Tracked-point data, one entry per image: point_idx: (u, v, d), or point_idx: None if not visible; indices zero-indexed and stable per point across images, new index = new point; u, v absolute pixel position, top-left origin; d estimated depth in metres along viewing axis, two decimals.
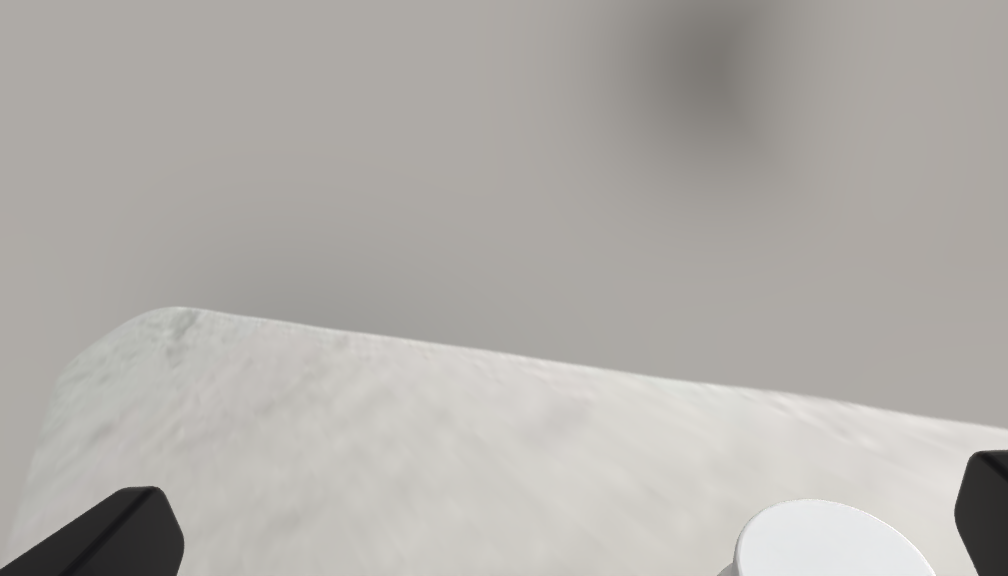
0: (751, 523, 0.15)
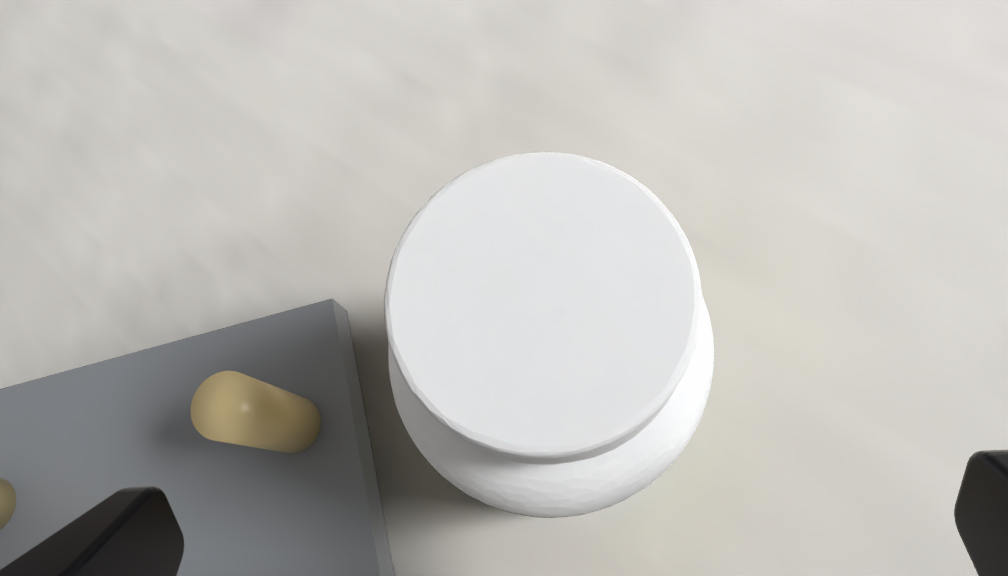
0: (413, 224, 0.09)
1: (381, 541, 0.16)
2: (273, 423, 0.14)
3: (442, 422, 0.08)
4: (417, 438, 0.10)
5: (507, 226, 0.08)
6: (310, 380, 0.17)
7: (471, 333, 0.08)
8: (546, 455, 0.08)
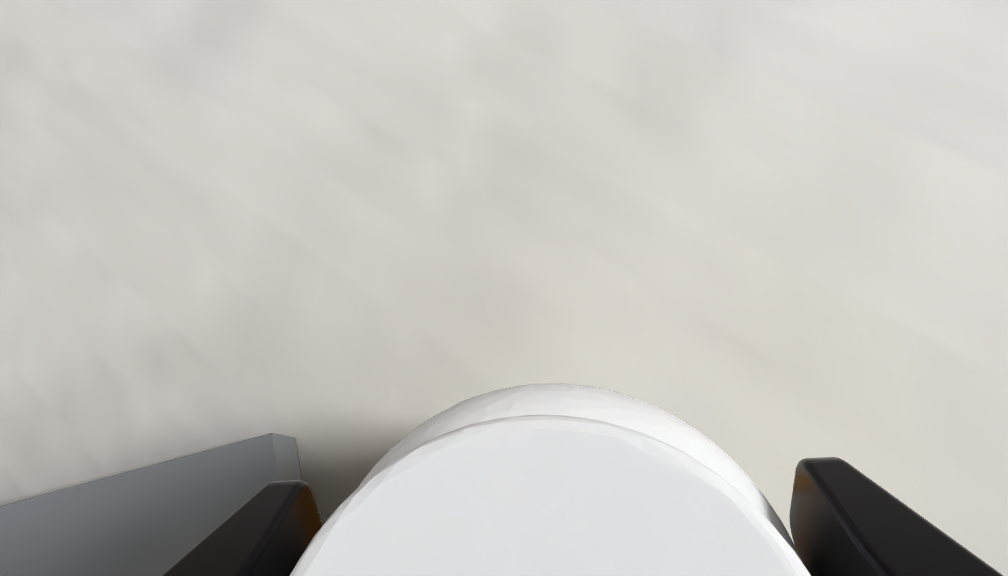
0: (305, 566, 0.05)
1: None
2: None
3: None
4: None
5: None
6: None
7: None
8: None
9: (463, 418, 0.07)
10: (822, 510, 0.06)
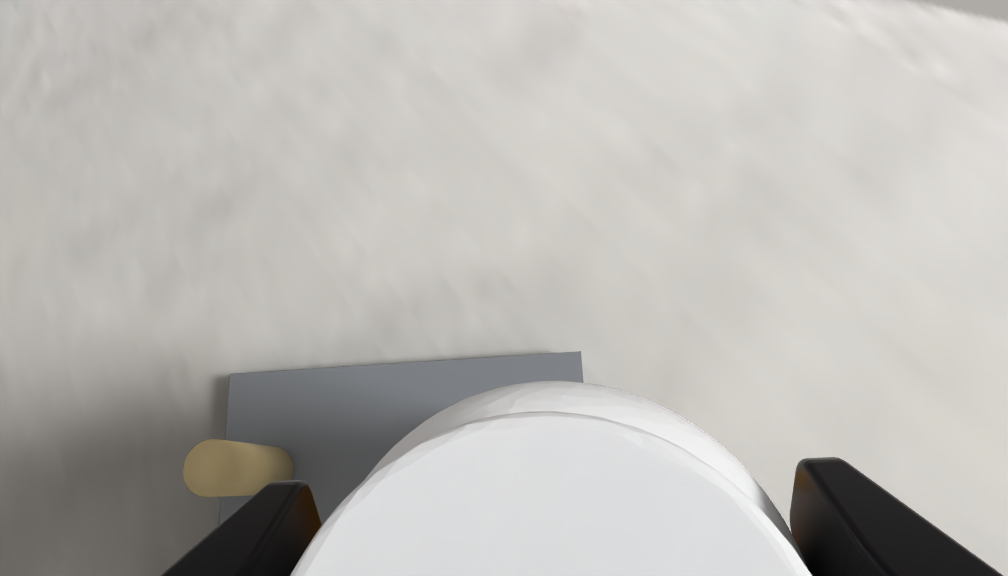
0: (310, 559, 0.05)
1: None
2: None
3: None
4: None
5: (484, 573, 0.04)
6: None
7: None
8: None
9: (466, 415, 0.07)
10: (823, 510, 0.06)
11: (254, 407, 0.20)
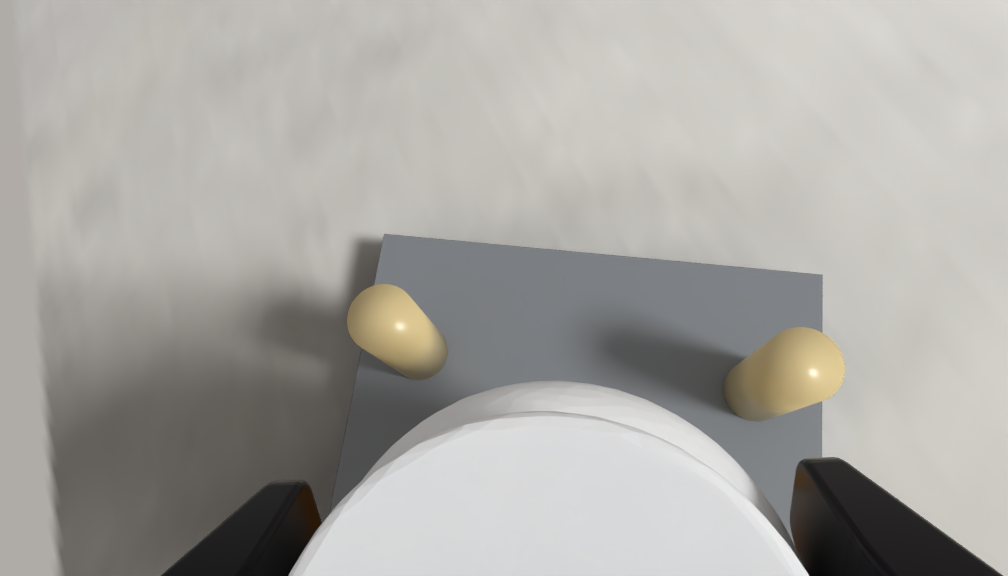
0: (309, 558, 0.05)
1: None
2: None
3: None
4: None
5: (482, 573, 0.04)
6: None
7: None
8: None
9: (464, 415, 0.07)
10: (823, 510, 0.06)
11: (409, 277, 0.17)
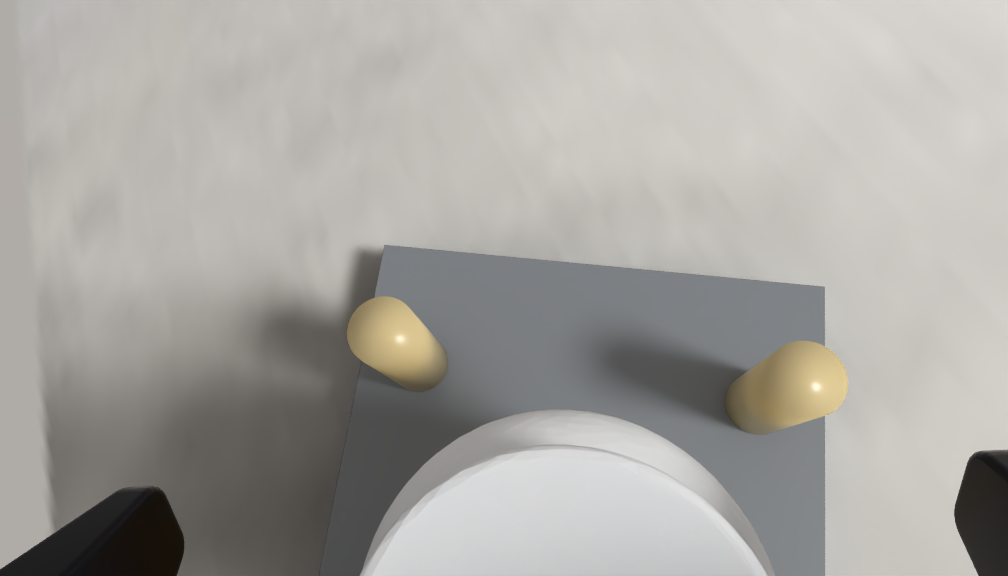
0: (375, 562, 0.06)
1: None
2: None
3: None
4: None
5: (513, 573, 0.06)
6: None
7: None
8: None
9: (485, 440, 0.08)
10: None
11: (409, 288, 0.17)
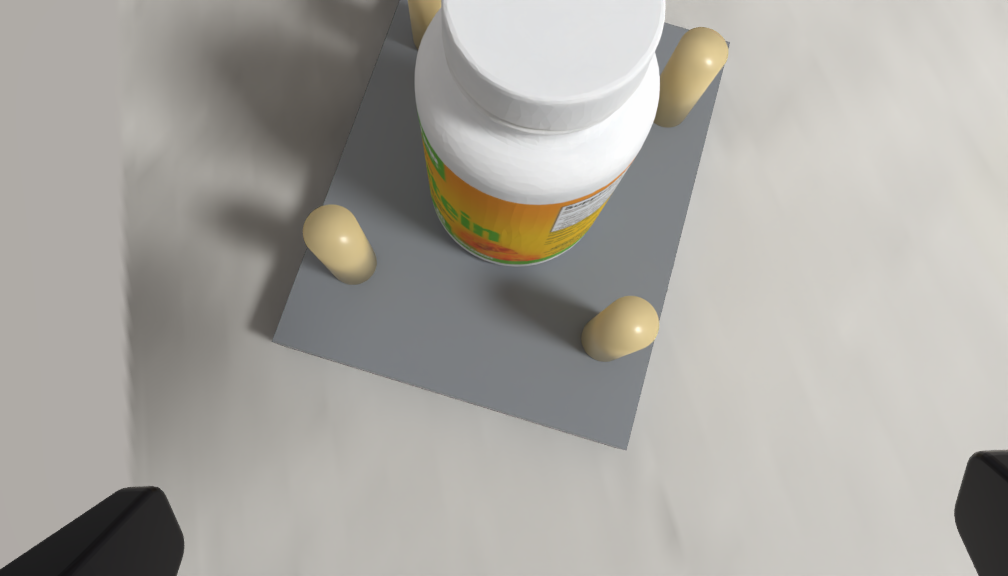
0: None
1: None
2: (708, 85, 0.19)
3: (474, 69, 0.11)
4: (432, 122, 0.14)
5: None
6: None
7: (503, 14, 0.11)
8: (542, 100, 0.11)
9: None
10: None
11: None
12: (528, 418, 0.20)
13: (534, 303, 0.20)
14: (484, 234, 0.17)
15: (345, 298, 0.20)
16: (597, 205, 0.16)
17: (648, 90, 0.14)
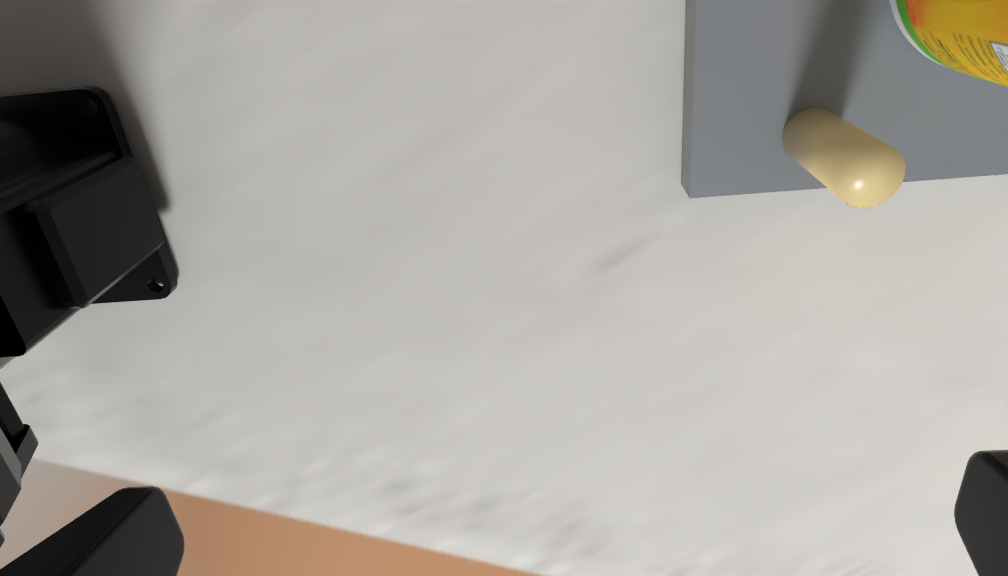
0: None
1: None
2: None
3: None
4: None
5: None
6: None
7: None
8: None
9: None
10: None
11: None
12: (695, 83, 0.17)
13: (838, 36, 0.16)
14: None
15: None
16: None
17: None
